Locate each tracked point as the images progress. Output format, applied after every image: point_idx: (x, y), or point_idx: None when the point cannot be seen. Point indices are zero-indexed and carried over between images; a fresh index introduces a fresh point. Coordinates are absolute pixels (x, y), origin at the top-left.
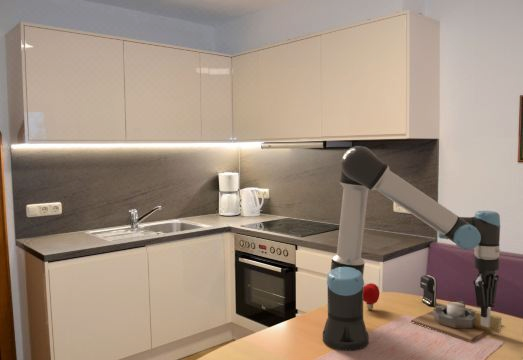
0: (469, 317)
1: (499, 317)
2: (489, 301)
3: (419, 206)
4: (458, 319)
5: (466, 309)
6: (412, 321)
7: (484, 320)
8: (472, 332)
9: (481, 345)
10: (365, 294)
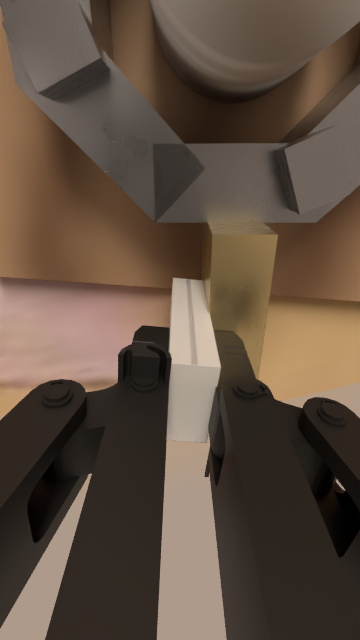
0: (189, 178)
1: None
2: (212, 498)
3: None
4: (49, 114)
5: None
6: None
7: (169, 325)
8: (101, 239)
9: (19, 326)
10: None
